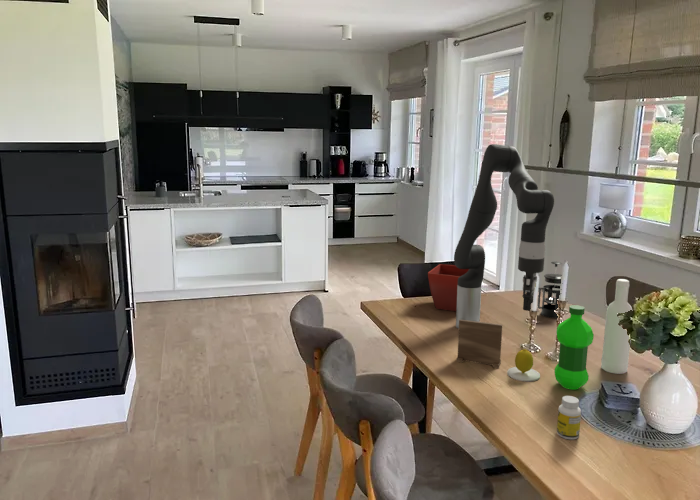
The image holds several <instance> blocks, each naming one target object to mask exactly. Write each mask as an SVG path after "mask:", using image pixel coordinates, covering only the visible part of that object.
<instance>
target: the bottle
mask: <svg viewBox="0 0 700 500" xmlns="http://www.w3.org/2000/svg"><path fill="white" fill-rule="evenodd" d="M629 289H630V280H628V279H625V278H618V279H617V280H616V282H615V293H614V294H615V295H614V300H613V301H612V302H610V303H609V304H608V307H607V309H606V313H605V323H604V333H603V334H604V336H603V346H602V355H601V365H600V368H601V369H602V370H603V371H605V372H607V373H611V374H614V375H615V374H616V375H617V374H618V375H623V374H625V373H628V368H629V357H630V350H631V349H630V348H631V345H630V346H629V343H628V339H629V336H628V335H627V331H626V330H625V329H623V328H622V327H621V326H619V325H618V323H619V319H620V318H618V317H617V313H625V312H628V311H630V310H632V311H633V308H632V306H631V304H630V303H629V302H628V299H629V298H628V296H629Z"/></svg>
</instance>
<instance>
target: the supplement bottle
mask: <svg viewBox="0 0 700 500" xmlns="http://www.w3.org/2000/svg"><path fill="white" fill-rule="evenodd" d="M579 406H580V400H579V399H578V397H575V396H572V395H564V396H562V397H561V404H560V405H559V406H558V410H557V411H558V412H557V425H556V433H557V435H558V436H560V437H561V438H562V439H565V440H571V441H573V440H577V439H578V438H579V437H580V430H581V429H580V428H581V421H582V420H581V417H582V410H581V408H580V407H579Z"/></svg>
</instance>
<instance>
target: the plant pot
mask: <svg viewBox="0 0 700 500" xmlns="http://www.w3.org/2000/svg"><path fill="white" fill-rule="evenodd" d="M468 270H469V269H459V268H457V267H456V266H455V264H443V263H440V264H438V265H437V266H435V267H433V268H432V269H431V270H429V271H428V272H427V279H428V284H429V289H430V290H429V291H430V295H431V298H432V302H433V304H434V308H435V309H437V310H445V311H450V312H456V309H457V285H458V278H459V277H460V276H462V275H464V274H465V273H467V272H468Z"/></svg>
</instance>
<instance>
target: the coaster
mask: <svg viewBox="0 0 700 500" xmlns="http://www.w3.org/2000/svg"><path fill="white" fill-rule="evenodd" d="M506 374H507V376H508V377H509V378H511V379H513V380H515V381H520V382H536V381H538V380H540V378H541V374H540V372H538V370H536V369H533V368H531V369H530V370H529V371H527V372H525V373H522V372H521V371H520V370H518V369H517V367H516V366H514V367H510V368H508V369H507V372H506Z"/></svg>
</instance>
